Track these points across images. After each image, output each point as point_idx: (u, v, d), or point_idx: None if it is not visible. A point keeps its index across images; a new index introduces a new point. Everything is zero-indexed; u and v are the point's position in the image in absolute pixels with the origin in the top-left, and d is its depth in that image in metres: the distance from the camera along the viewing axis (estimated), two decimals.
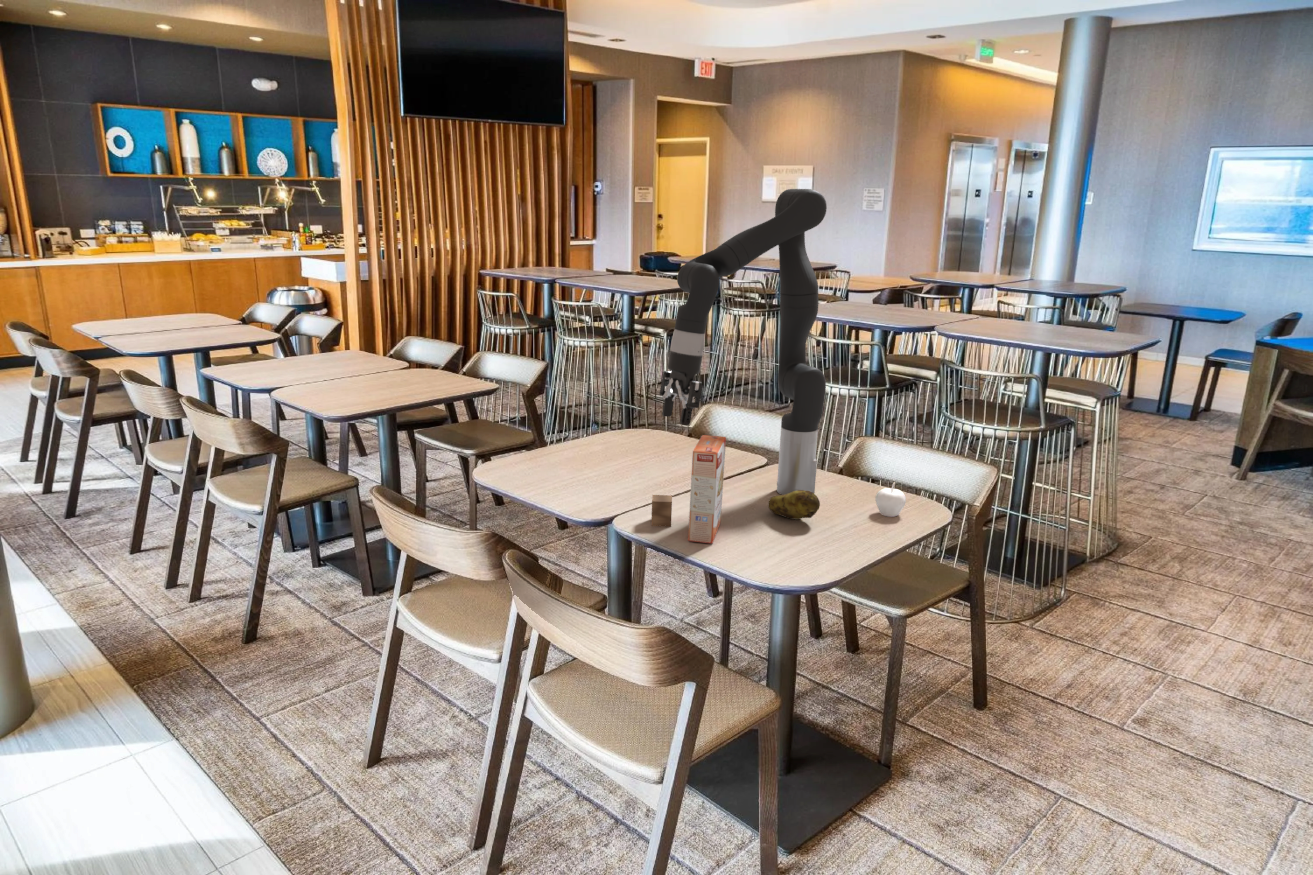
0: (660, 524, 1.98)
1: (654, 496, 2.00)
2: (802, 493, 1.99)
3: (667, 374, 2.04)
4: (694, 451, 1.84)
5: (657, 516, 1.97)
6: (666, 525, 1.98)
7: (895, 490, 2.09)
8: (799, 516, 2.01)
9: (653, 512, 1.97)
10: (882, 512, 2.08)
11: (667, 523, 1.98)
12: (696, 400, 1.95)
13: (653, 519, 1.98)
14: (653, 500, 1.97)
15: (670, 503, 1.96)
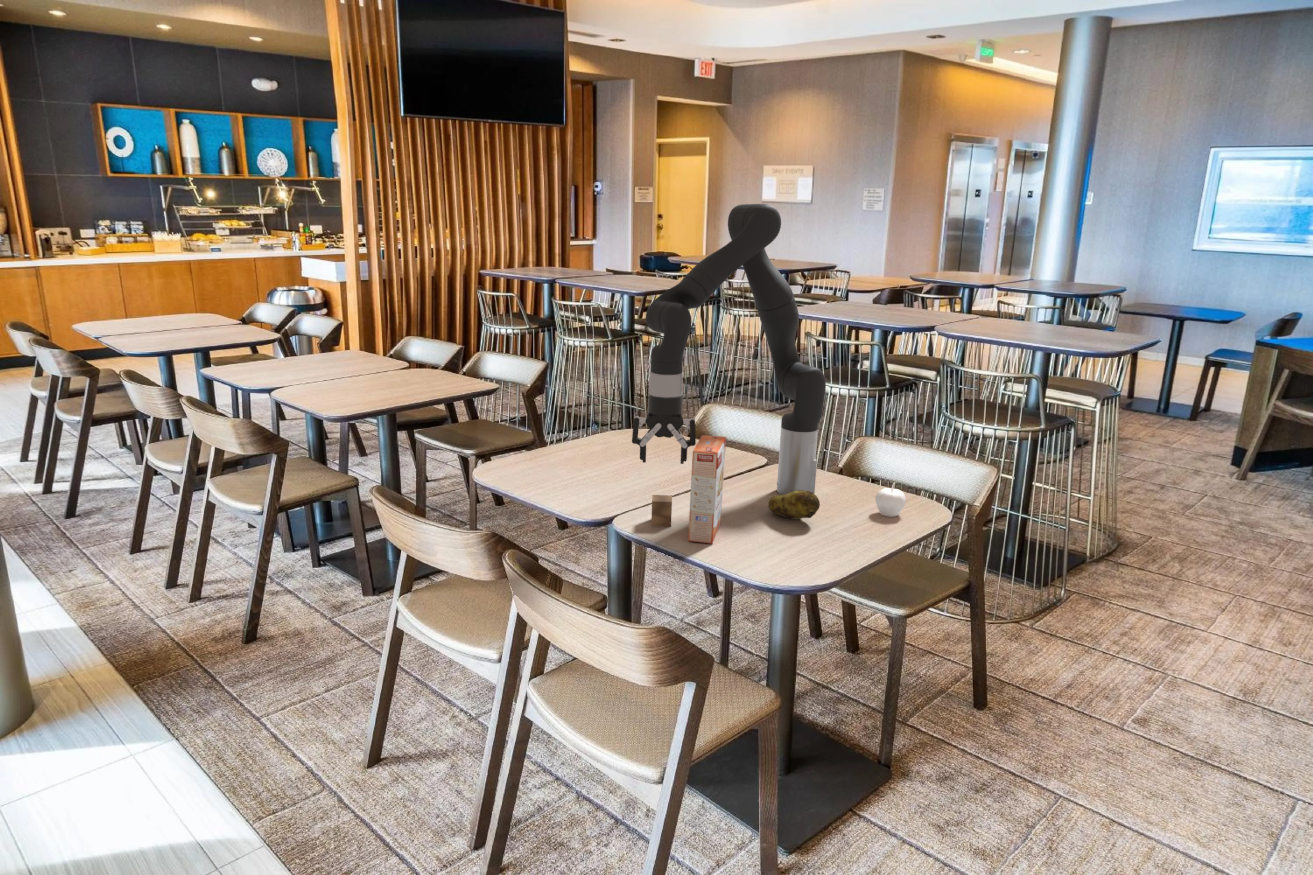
0: (660, 524, 1.98)
1: (654, 496, 2.00)
2: (802, 493, 1.99)
3: (639, 420, 1.93)
4: (694, 451, 1.84)
5: (657, 516, 1.97)
6: (666, 525, 1.98)
7: (895, 490, 2.09)
8: (799, 516, 2.01)
9: (653, 512, 1.97)
10: (882, 512, 2.08)
11: (667, 523, 1.98)
12: None
13: (653, 519, 1.98)
14: (653, 500, 1.97)
15: (670, 503, 1.96)
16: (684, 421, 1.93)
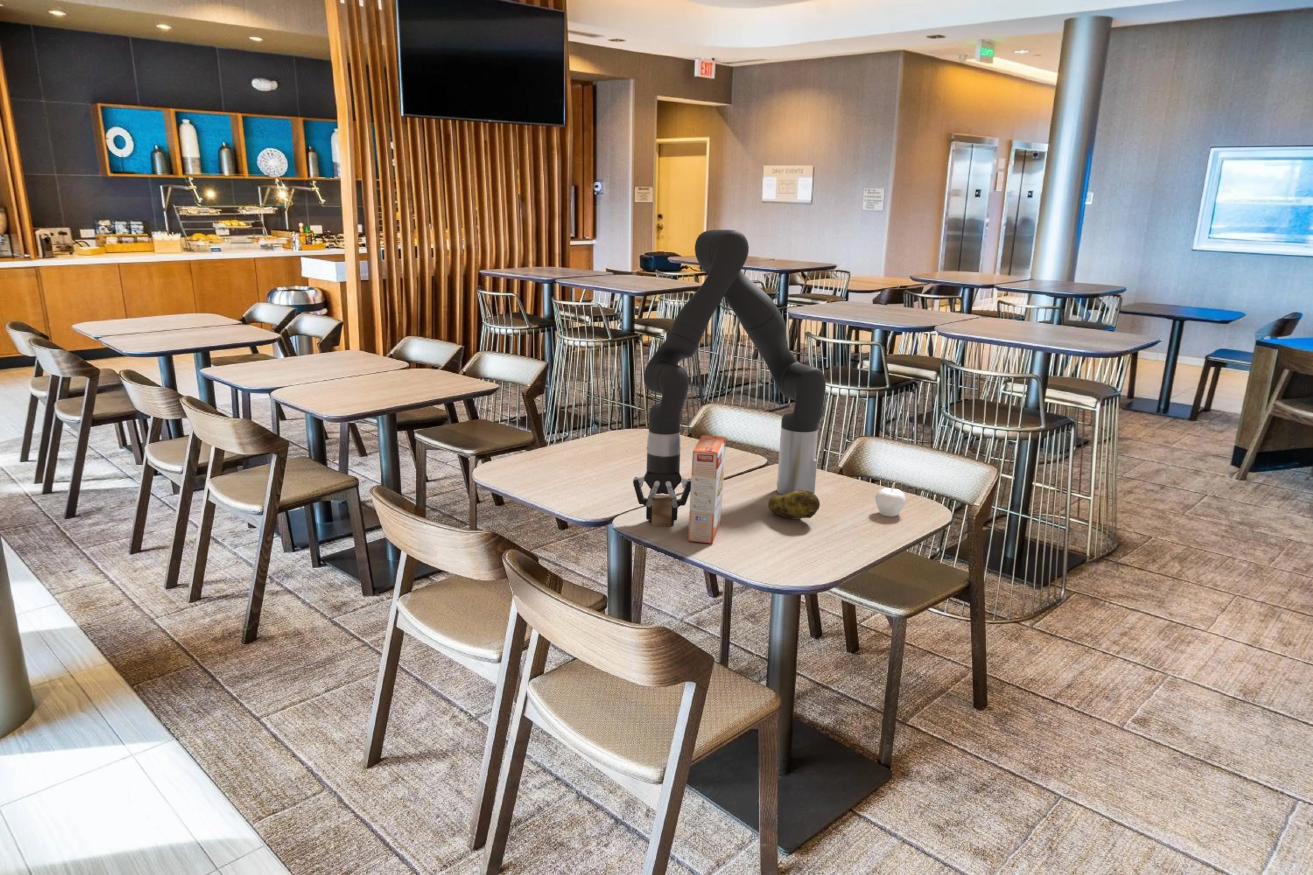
0: (660, 524, 1.98)
1: None
2: (802, 493, 1.99)
3: (638, 481, 1.97)
4: (694, 451, 1.84)
5: (657, 515, 1.97)
6: (666, 525, 1.98)
7: (895, 490, 2.09)
8: (799, 516, 2.01)
9: (653, 512, 1.97)
10: (882, 512, 2.08)
11: (667, 523, 1.98)
12: None
13: (653, 519, 1.97)
14: (653, 500, 1.97)
15: (670, 503, 1.96)
16: (682, 480, 1.97)
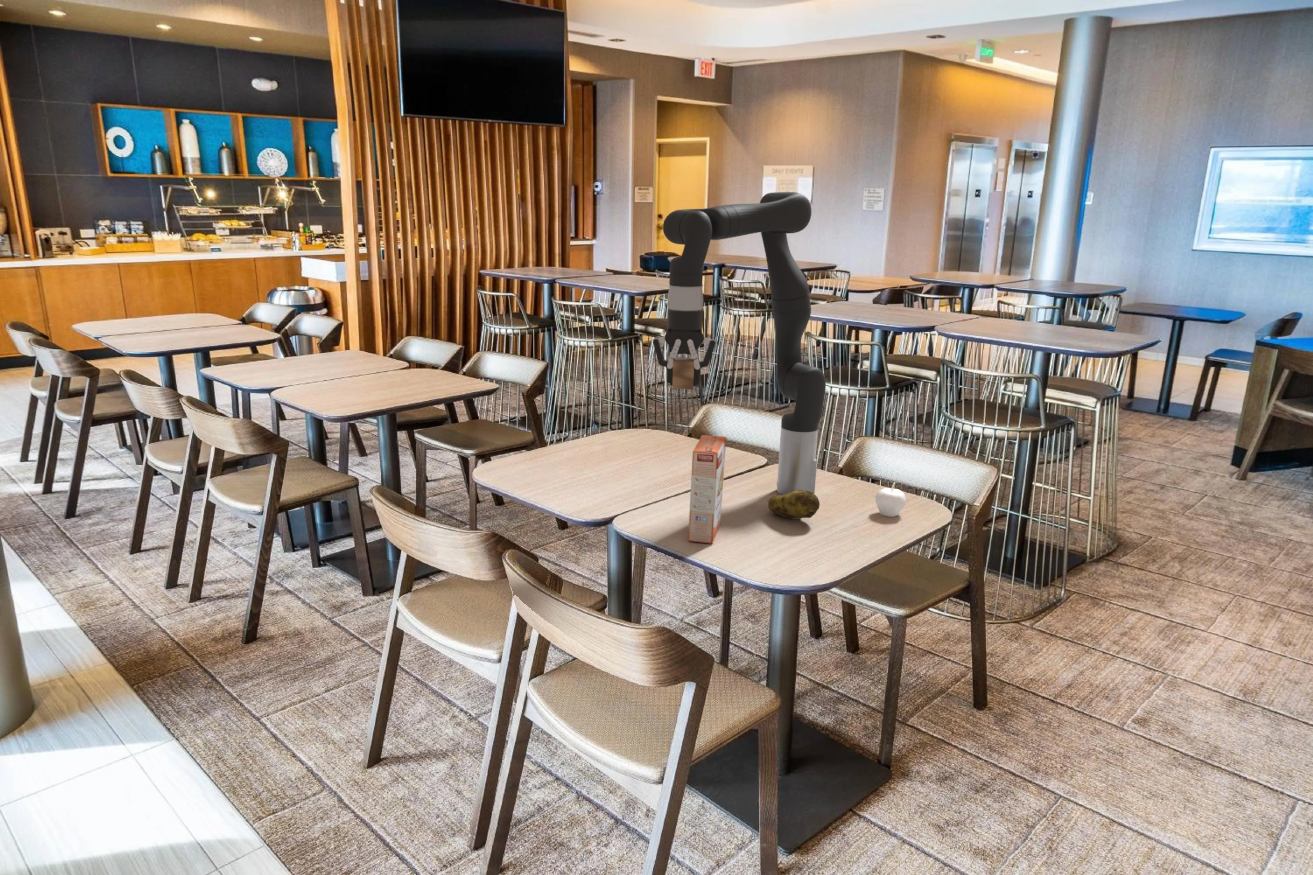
0: (682, 386, 1.88)
1: (675, 358, 1.89)
2: (802, 493, 1.99)
3: (658, 341, 1.87)
4: (694, 451, 1.84)
5: (678, 377, 1.87)
6: (688, 388, 1.88)
7: (895, 490, 2.09)
8: (799, 516, 2.01)
9: (674, 373, 1.87)
10: (882, 512, 2.08)
11: (689, 385, 1.87)
12: None
13: (674, 381, 1.87)
14: (674, 360, 1.87)
15: (692, 363, 1.86)
16: (704, 339, 1.86)
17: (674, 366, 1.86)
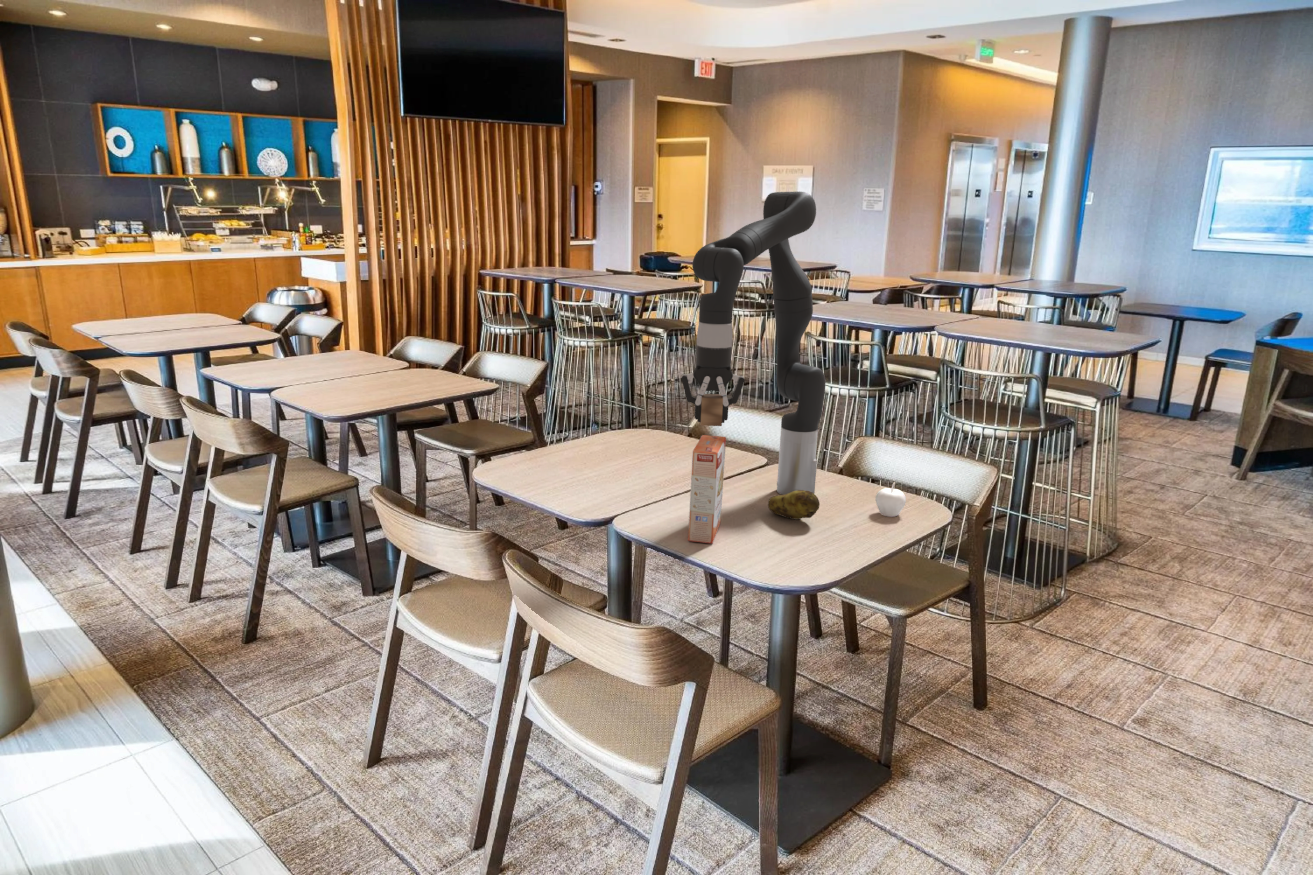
0: (710, 423, 1.86)
1: None
2: (802, 493, 1.99)
3: (687, 377, 1.85)
4: (694, 451, 1.84)
5: (707, 414, 1.86)
6: (717, 425, 1.86)
7: (895, 490, 2.09)
8: (799, 516, 2.01)
9: (703, 410, 1.85)
10: (882, 512, 2.08)
11: (717, 422, 1.86)
12: None
13: (703, 418, 1.86)
14: (703, 397, 1.85)
15: (721, 400, 1.85)
16: (733, 376, 1.85)
17: (703, 403, 1.85)
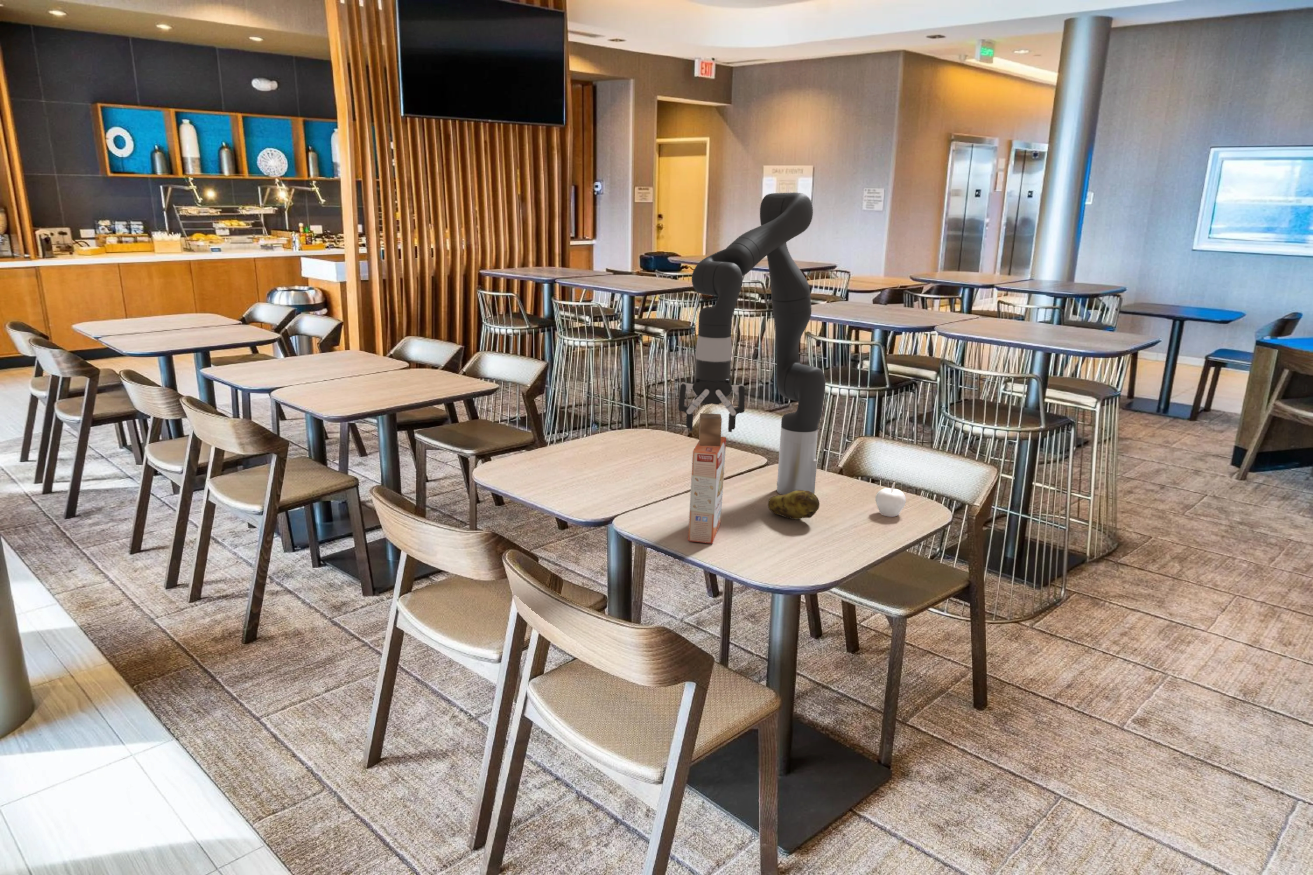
0: (709, 443, 1.87)
1: (702, 414, 1.89)
2: (802, 493, 1.99)
3: (685, 386, 1.86)
4: (694, 451, 1.84)
5: (705, 434, 1.87)
6: (715, 445, 1.87)
7: (895, 490, 2.09)
8: (799, 516, 2.01)
9: (702, 430, 1.87)
10: (882, 512, 2.08)
11: (716, 442, 1.87)
12: None
13: (701, 438, 1.87)
14: (702, 417, 1.86)
15: (720, 420, 1.86)
16: (733, 387, 1.86)
17: (702, 423, 1.86)
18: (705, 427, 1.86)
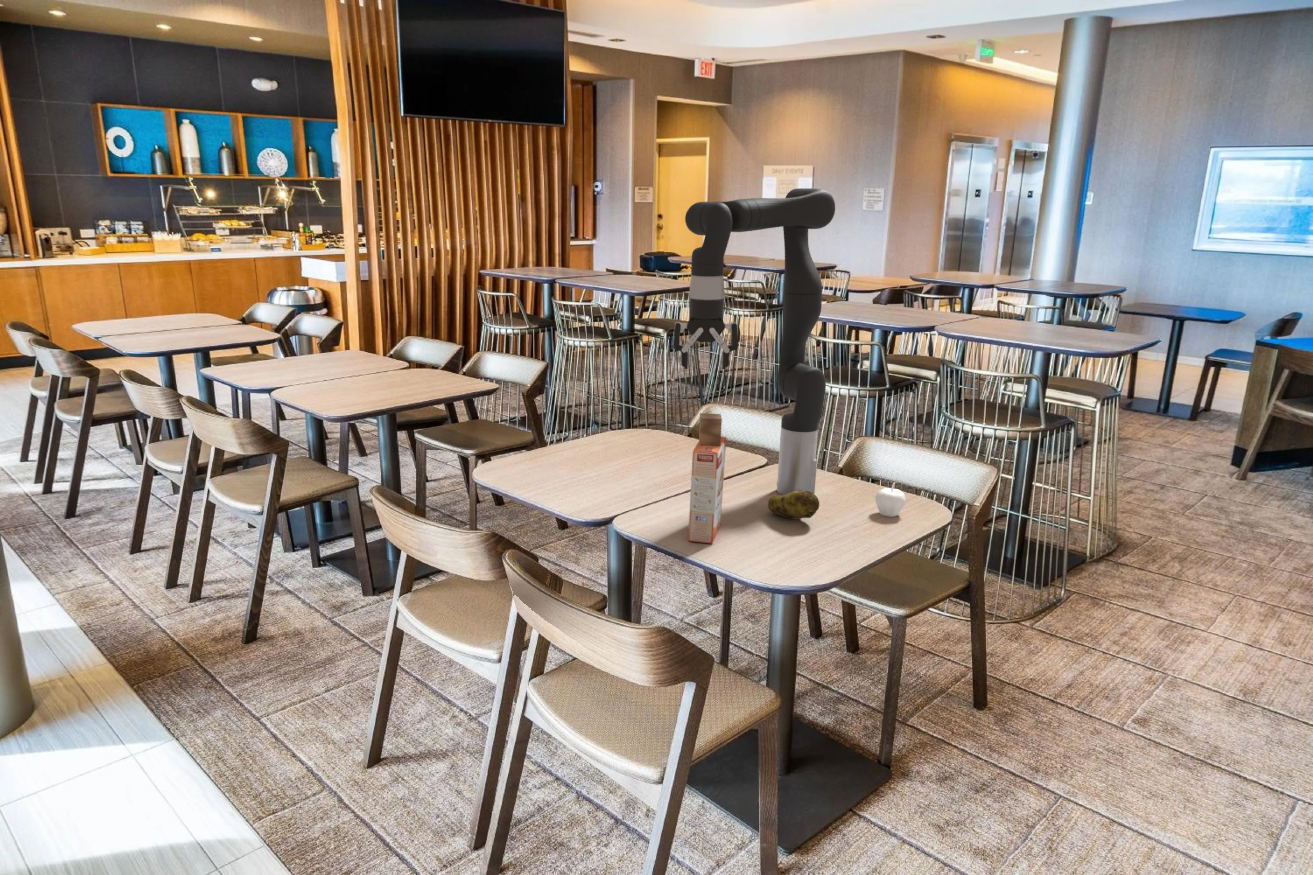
0: (709, 443, 1.87)
1: (702, 414, 1.89)
2: (801, 493, 1.99)
3: (680, 325, 1.92)
4: (694, 451, 1.84)
5: (705, 434, 1.87)
6: (715, 445, 1.87)
7: (895, 490, 2.09)
8: (798, 516, 2.01)
9: (702, 430, 1.87)
10: (882, 512, 2.08)
11: (716, 442, 1.87)
12: None
13: (701, 438, 1.87)
14: (702, 417, 1.86)
15: (720, 420, 1.86)
16: (726, 325, 1.92)
17: (702, 423, 1.86)
18: (705, 427, 1.86)
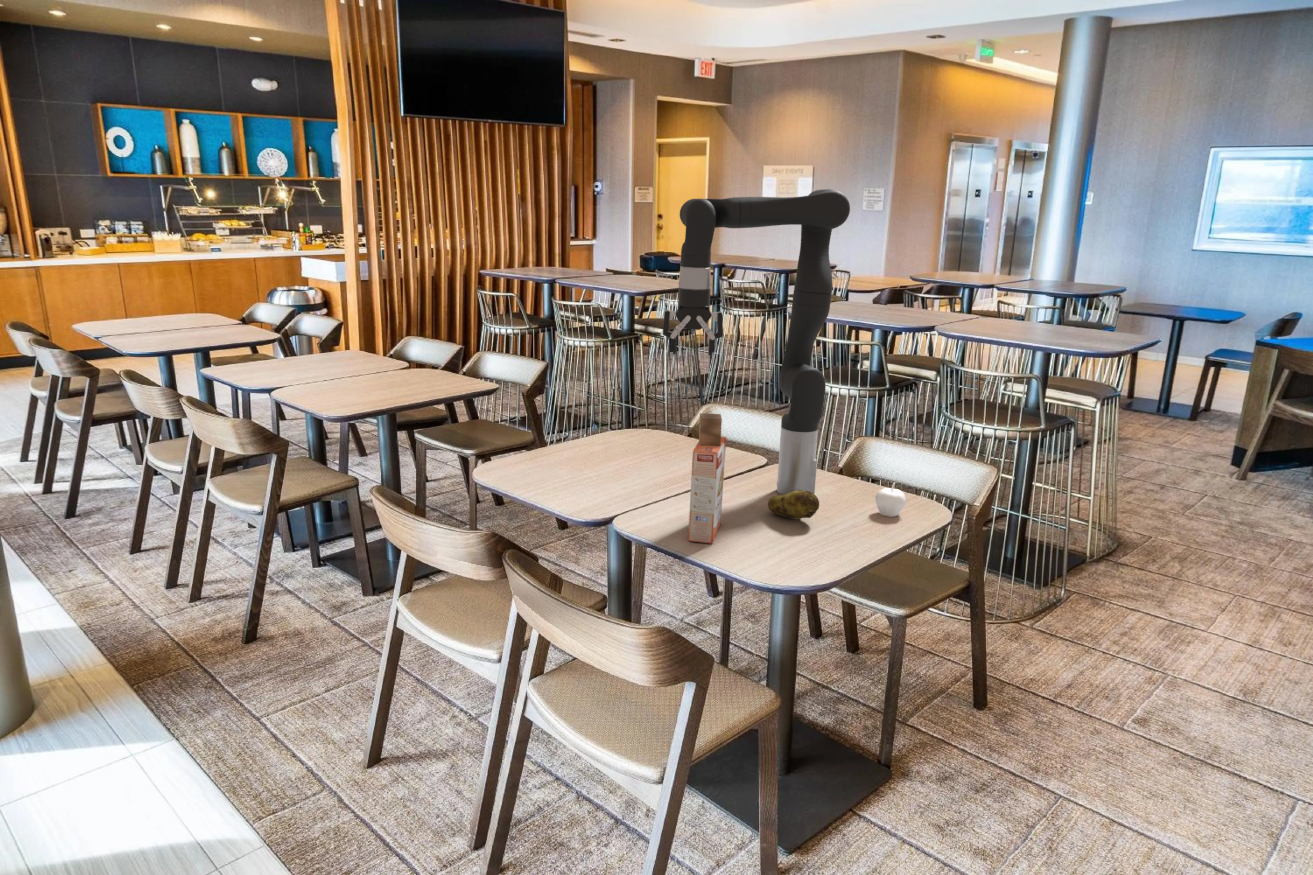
0: (709, 443, 1.87)
1: (702, 414, 1.89)
2: (801, 493, 1.99)
3: (669, 313, 2.06)
4: (694, 451, 1.84)
5: (705, 434, 1.87)
6: (715, 445, 1.87)
7: (895, 490, 2.09)
8: (798, 516, 2.01)
9: (702, 430, 1.86)
10: (883, 512, 2.08)
11: (716, 442, 1.87)
12: None
13: (701, 438, 1.87)
14: (702, 417, 1.86)
15: (720, 420, 1.86)
16: (712, 314, 2.06)
17: (702, 423, 1.86)
18: (705, 427, 1.86)
